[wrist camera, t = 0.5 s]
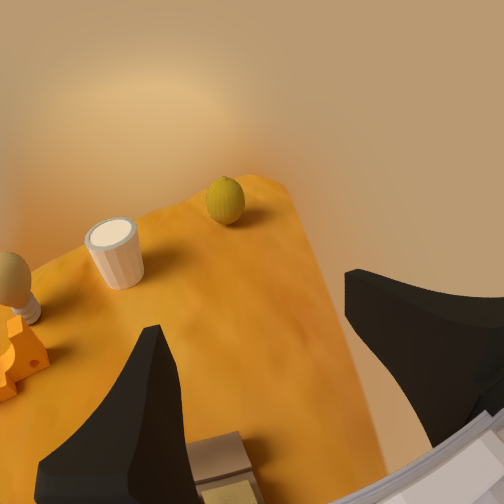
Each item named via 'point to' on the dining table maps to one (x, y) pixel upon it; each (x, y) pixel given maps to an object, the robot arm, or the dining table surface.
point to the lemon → (225, 200)
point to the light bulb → (17, 287)
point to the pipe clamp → (20, 357)
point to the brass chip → (230, 494)
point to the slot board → (221, 464)
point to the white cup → (116, 252)
